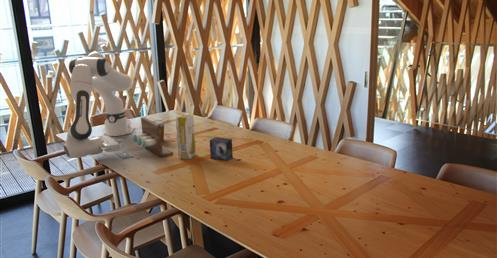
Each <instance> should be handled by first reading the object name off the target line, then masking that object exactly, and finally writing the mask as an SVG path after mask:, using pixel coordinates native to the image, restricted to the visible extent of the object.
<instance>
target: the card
mask: <svg viewBox="0 0 497 258" xmlns="http://www.w3.org/2000/svg"><path fill="white" fill-rule="evenodd" d="M115 155H116V156H118V157H119V158H121V160H125V159H130V158H134V155H133V154H131V153H130V152H129V151H127V150H122V151H115Z"/></svg>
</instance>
